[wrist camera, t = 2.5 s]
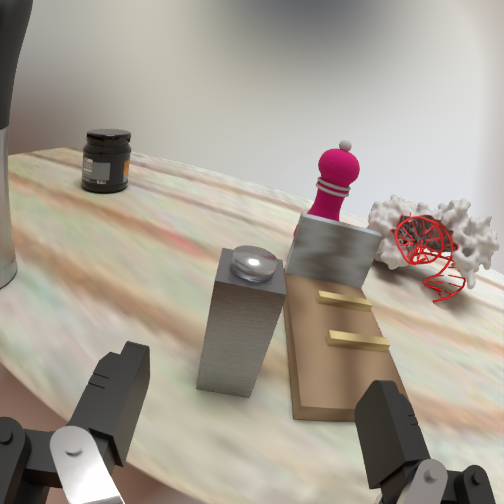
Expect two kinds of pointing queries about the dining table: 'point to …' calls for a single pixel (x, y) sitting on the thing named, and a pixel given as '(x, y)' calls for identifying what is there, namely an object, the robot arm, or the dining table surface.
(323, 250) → the wooden base metal fixture
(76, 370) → the dining table surface
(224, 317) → the metal square bar
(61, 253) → the dining table surface
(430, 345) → the dining table surface
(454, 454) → the dining table surface
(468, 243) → the lumpy white molecule
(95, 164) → the supplement container
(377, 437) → the robot arm
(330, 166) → the pepper mill
